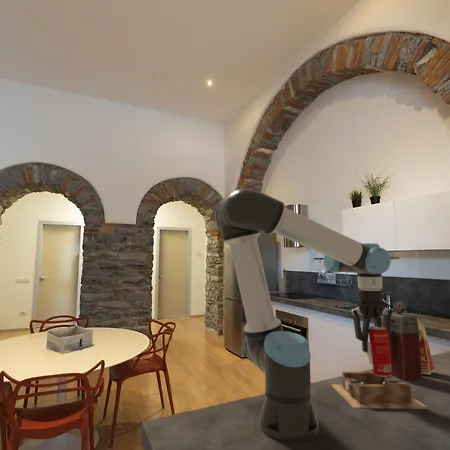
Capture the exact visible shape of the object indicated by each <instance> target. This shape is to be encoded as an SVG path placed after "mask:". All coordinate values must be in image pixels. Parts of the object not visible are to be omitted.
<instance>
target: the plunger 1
mask: <svg viewBox="0 0 450 450" xmlns="http://www.w3.org/2000/svg"><path fill="white" fill-rule="evenodd" d="M352 384H367V383H366V382H361V383H350V382H349V381H345V387H346V389H347V390H348V391H351V388H352Z"/></svg>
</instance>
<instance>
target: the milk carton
mask: <svg viewBox="0 0 450 450" xmlns="http://www.w3.org/2000/svg"><path fill="white" fill-rule="evenodd" d="M418 329H419V345H420V361H421V375H429V376H430V375H431V374H432V373H434V372H435V371H436V369H435V366H434V362H433V358H432V355H431V349H430V343H429V342H430V341H429V338H428V335H427V333H426V332H427V331H426V328H425V326H424V325H423V324H422V323H420V319H419V318H418Z"/></svg>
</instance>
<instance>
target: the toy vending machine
mask: <svg viewBox="0 0 450 450" xmlns="http://www.w3.org/2000/svg"><path fill="white" fill-rule="evenodd" d="M392 309H393V312H392V315H391V321H390V340H389V346H390V356H391V365H392V375H391V377H394V378H396V379H398V380H401V381H403V382H405V381H411V380H412V381H413V380H416V379H417V380H418V379H422V374H421V361H420V345H419V329H418V319H419V318H418V315H416V314H412V313H407V312H405V311H406V305H405V303H404V302H403V301H396V302H394V303H393V304H392ZM383 315H384V314H383V313H382V316H383Z"/></svg>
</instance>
